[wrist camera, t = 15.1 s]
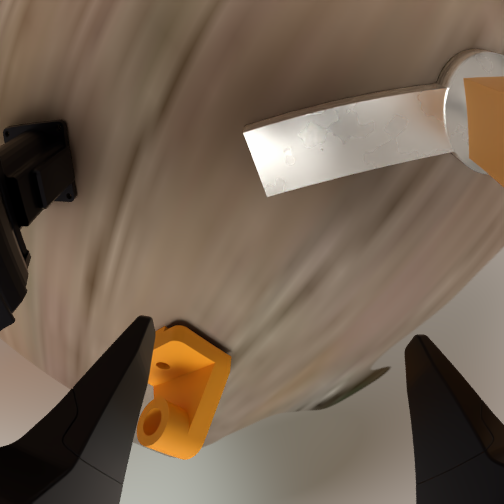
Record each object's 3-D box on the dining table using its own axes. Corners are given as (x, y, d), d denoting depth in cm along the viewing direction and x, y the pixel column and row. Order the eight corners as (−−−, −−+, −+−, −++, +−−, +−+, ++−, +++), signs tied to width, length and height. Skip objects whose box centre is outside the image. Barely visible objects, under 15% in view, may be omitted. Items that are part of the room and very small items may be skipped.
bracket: (181, 316, 29) (157, 432, 20) (231, 350, 33) (223, 455, 23) (125, 348, 34) (99, 439, 24) (170, 375, 37) (155, 461, 28)
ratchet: (276, 213, 22) (279, 256, 18) (231, 92, 17) (222, 108, 13) (520, 155, 17) (555, 183, 13) (515, 50, 12) (559, 63, 8)
